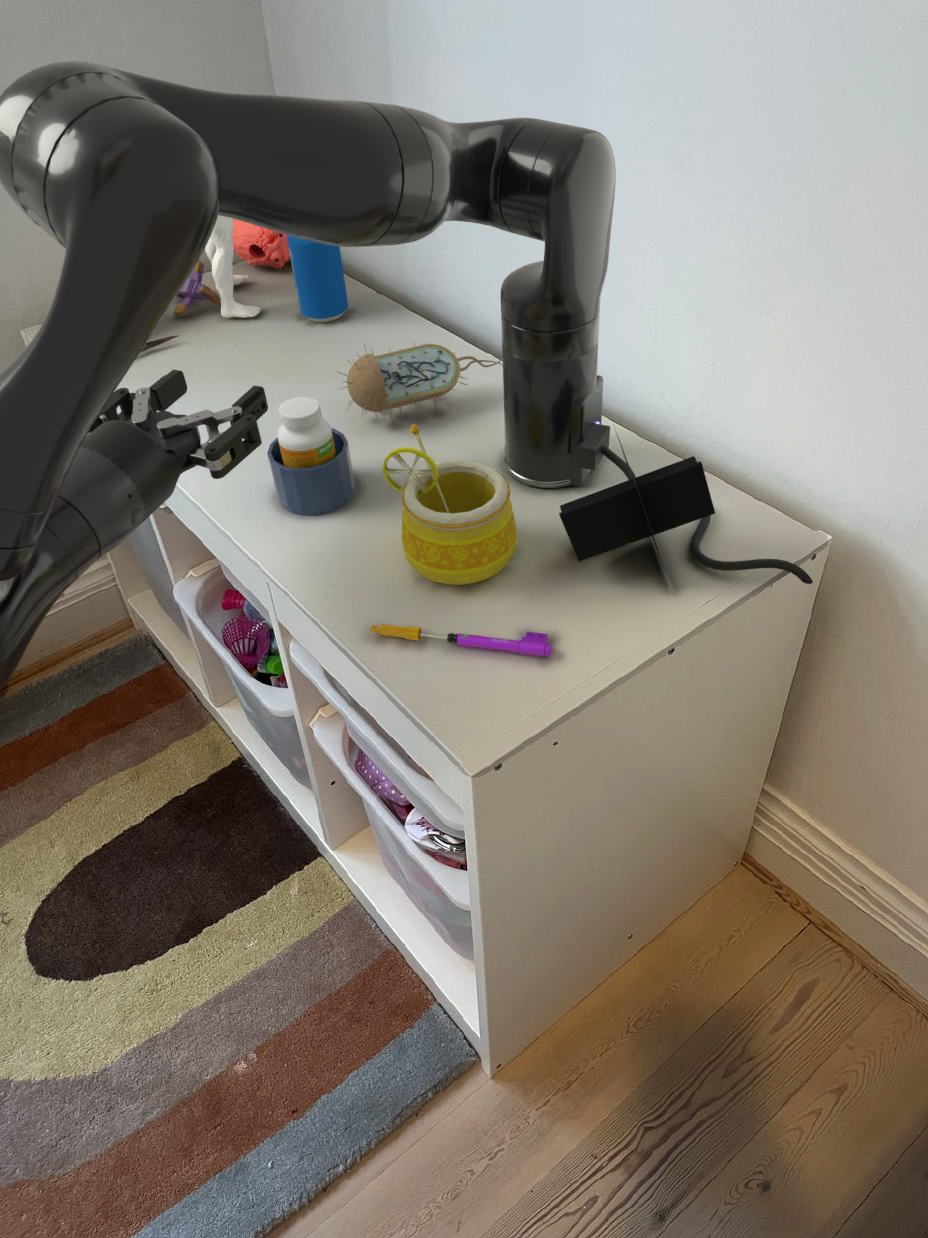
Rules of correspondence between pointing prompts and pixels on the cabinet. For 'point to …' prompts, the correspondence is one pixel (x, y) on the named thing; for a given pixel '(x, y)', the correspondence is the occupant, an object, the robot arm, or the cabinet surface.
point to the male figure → (226, 269)
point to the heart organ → (260, 245)
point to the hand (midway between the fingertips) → (221, 386)
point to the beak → (157, 342)
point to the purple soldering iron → (475, 639)
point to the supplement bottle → (304, 434)
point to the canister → (314, 481)
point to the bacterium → (404, 377)
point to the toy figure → (194, 291)
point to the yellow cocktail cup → (454, 518)
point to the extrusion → (637, 508)
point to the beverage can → (318, 279)
